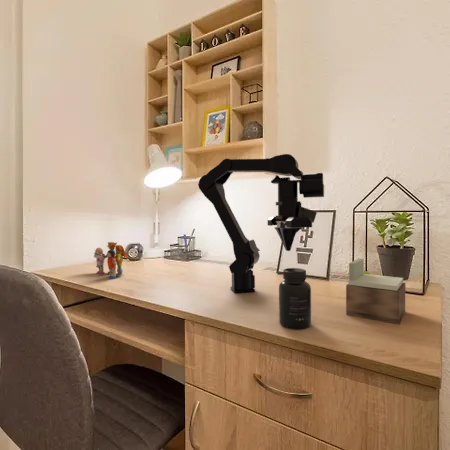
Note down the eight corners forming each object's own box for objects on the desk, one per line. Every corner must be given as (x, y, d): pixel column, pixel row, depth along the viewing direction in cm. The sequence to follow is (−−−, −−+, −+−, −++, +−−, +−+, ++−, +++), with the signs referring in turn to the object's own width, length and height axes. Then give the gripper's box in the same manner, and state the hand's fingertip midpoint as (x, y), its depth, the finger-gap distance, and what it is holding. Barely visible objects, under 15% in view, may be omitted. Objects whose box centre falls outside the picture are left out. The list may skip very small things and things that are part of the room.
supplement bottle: (275, 319, 69) (275, 267, 69) (304, 318, 70) (304, 266, 69) (284, 331, 62) (283, 273, 62) (316, 329, 63) (316, 272, 62)
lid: (348, 284, 71) (348, 263, 71) (359, 277, 79) (359, 258, 79) (397, 290, 65) (397, 267, 65) (403, 282, 73) (403, 261, 73)
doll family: (92, 272, 129) (91, 241, 128) (114, 269, 135) (113, 240, 135) (112, 280, 113) (111, 245, 113) (136, 276, 120) (135, 243, 119)
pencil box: (346, 314, 72) (346, 285, 71) (356, 304, 80) (357, 277, 79) (399, 324, 65) (399, 292, 65) (405, 311, 73) (405, 283, 73)
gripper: (329, 196, 82) (329, 253, 83) (298, 199, 100) (298, 246, 101) (291, 196, 80) (292, 255, 80) (266, 199, 98) (267, 247, 98)
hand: (288, 250), depth 90 cm, fingers closed
